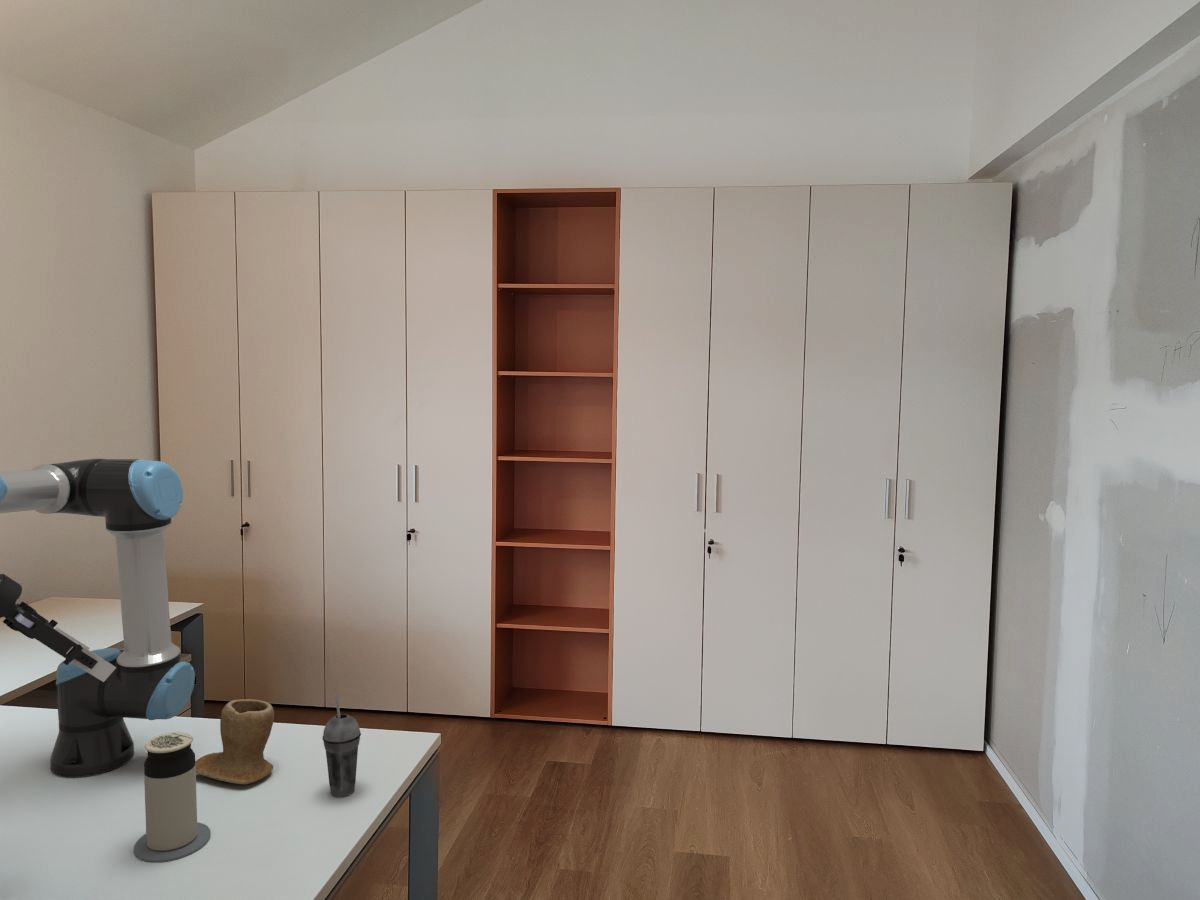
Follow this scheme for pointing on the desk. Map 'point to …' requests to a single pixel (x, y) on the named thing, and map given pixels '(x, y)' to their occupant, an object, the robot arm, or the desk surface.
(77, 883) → the desk surface
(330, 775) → the beverage cup
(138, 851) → the mat
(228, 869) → the desk surface
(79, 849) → the desk surface
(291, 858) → the desk surface
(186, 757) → the travel mug
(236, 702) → the stone cup
